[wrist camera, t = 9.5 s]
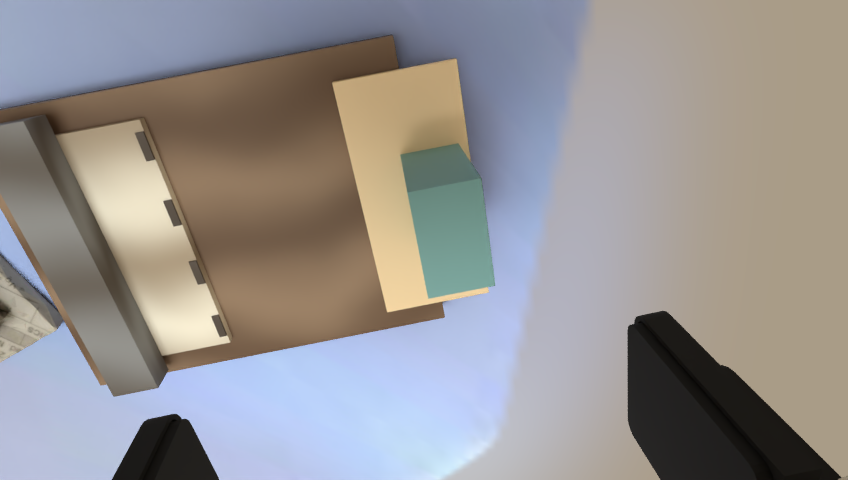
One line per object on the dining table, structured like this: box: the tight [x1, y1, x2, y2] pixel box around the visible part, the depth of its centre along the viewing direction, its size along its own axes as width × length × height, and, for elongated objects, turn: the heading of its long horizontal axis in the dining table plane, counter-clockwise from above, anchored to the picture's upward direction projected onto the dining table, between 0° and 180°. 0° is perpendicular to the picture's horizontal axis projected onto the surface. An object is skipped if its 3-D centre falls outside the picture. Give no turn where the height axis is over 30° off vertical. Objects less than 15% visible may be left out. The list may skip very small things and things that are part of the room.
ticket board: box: [0, 35, 445, 397], centre depth 27 cm, size 16×21×4 cm
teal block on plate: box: [332, 58, 495, 312], centre depth 24 cm, size 13×6×6 cm, turn 10°
